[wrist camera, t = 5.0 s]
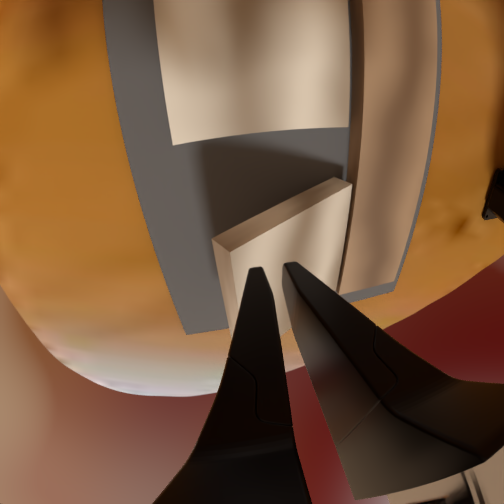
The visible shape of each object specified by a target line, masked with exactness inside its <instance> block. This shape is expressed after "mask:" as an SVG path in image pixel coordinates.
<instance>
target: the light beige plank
mask: <svg viewBox="0 0 504 504" xmlns="http://www.w3.org/2000/svg"><path fill="white" fill-rule="evenodd" d="M153 1H154V12H155V23H156V32H157V41H158V50H159V58H160V66H161V73H162V80H163V87H164V94H165V101H166V107H167V113H168V120H169V126H170V131H171V137H172V143H173V145H178V144H183V143H189V142H194V141H200V140H206V139H213V138H219V137H226V136H233V135H241V134H250V133H259V132H269V131H280V130H292V129H308V128H331V127H348V125H349V99H350V40H349V16H348V0H153Z"/></svg>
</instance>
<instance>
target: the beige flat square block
mask: <svg viewBox="0 0 504 504" xmlns="http://www.w3.org/2000/svg"><path fill="white" fill-rule="evenodd" d="M351 190H352V184H351V183H348V182H346V181H343V180H341V179H338V178H336V177H333V178H331V179H329V180H327V181H325V182H323V183H320V184H318V185H316V186H314V187H312V188H310V189H308V190H306V191H304V192H302V193H300V194H298V195H296V196H294V197H292V198H290V199H288V200H286V201H284V202H282V203H280V204H278V205H276V206H274V207H272V208H270V209H268V210H266V211H264V212H262V213H260V214H258V215H256V216H254V217H252V218H250V219H248V220H246V221H244V222H242V223H241V224H239V225H237V226H235V227H233V228H231V229H229V230H227V231H225V232H223V233H221V234H219V235H217V236H216V237H214V238H212V244H213V249H214V255H215V260H216V265H217V270H218V275H219V280H220V285H221V290H222V295H223V300H224V305H225V310H226V315H227V319H228V324H229V329H230V333H231V338H232V337H233V332H234V328H235V324H236V320H237V316H238V312H239V308H240V303H241V299H242V295H243V291H244V287H245V283H246V278H247V274H248V270H249V268H252V267H259V266H261V267H263V269H264V271H265V274H266V276H267V279H268V282H269V284H270V287H271V289H272V292H273V295H274V300H275V306H276V313H277V320H278V326H279V333H280V336H282V335H283V334H284V333H285V332H287V331H288V330H289V329H290V328H292V326H291V322H290V318H289V314H288V310H287V306H286V302H285V298H284V293H283V289H282V266H283V264H284V263H286V262H293V261H296V262H298V263H299V264H301V265H302V266H303V267H304V268H306V269H307V270H308V271H310V272H311V273H312V274H313V275H315V276H316V277H317V278H318V279H320V280H321V281H322V282H324V283H325V284H326V285H327V286H329V287H330V288H331V289H332V290H334V291H336V287H337V282H338V277H339V271H340V266H341V260H342V254H343V248H344V242H345V235H346V229H347V222H348V214H349V207H350V199H351Z"/></svg>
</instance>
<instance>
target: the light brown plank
mask: <svg viewBox="0 0 504 504" xmlns="http://www.w3.org/2000/svg"><path fill="white" fill-rule="evenodd" d="M350 13H351V35H352V101H351V125H350V142H349V156H348V168H347V179H346V182H348V183H351V184H352V190H351V199H350V207H349V214H348V222H347V229H346V235H345V242H344V248H343V254H342V260H341V266H340V271H339V277H338V282H337V287H336V291H337V293H338V294H339V295H341V294H345V293H350V292H354V291H358V290H362V289H366V288H370V287H374V286H378V285H382V284H385V283H389V282H393V281H394V280H395V277H396V274H397V271H398V268H399V265H400V262H401V259H402V256H403V253H404V249H405V246H406V243H407V240H408V236H409V233H410V229H411V225H412V222H413V218H414V214H415V210H416V206H417V202H418V198H419V194H420V189H421V185H422V180H423V175H424V170H425V165H426V160H427V154H428V148H429V142H430V135H431V128H432V121H433V112H434V102H435V91H436V76H437V14H436V0H350Z"/></svg>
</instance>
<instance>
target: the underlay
mask: <svg viewBox="0 0 504 504" xmlns="http://www.w3.org/2000/svg"><path fill="white" fill-rule="evenodd" d="M102 2H103V15H104V25H105V35H106V43H107V51H108V58H109V65H110V72H111V78H112V84H113V90H114V95H115V101H116V106H117V111H118V116H119V121H120V125H121V130H122V134H123V139H124V143H125V148H126V152H127V156H128V160H129V164H130V168H131V172H132V176H133V179H134V183H135V187H136V190H137V194H138V197H139V201H140V204H141V208H142V211H143V215H144V218H145V221H146V224H147V228H148V231H149V234H150V237H151V240H152V243H153V246H154V249H155V252H156V255H157V258H158V261H159V264H160V267H161V270H162V273H163V275H164V278H165V281H166V284H167V286H168V289H169V292H170V295H171V297H172V300H173V302H174V305H175V308H176V310H177V313H178V315H179V318H180V320H181V323H182V325H183V328H184V330H185V333H186V335H189V334H195V333H202V332H209V331H215V330H221V329H227V328H229V324H228V319H227V315H226V310H225V305H224V300H223V295H222V290H221V285H220V280H219V275H218V270H217V265H216V260H215V255H214V249H213V244H212V238H214V237H216V236H217V235H219V234H221V233H223V232H225V231H227V230H229V229H231V228H233V227H235V226H237V225H239V224H241V223H242V222H244V221H246V220H248V219H250V218H252V217H254V216H256V215H258V214H260V213H262V212H264V211H266V210H268V209H270V208H272V207H274V206H276V205H278V204H280V203H282V202H284V201H286V200H288V199H290V198H292V197H294V196H296V195H298V194H300V193H302V192H304V191H306V190H308V189H310V188H312V187H314V186H316V185H318V184H320V183H323V182H325V181H327V180H329V179H331V178H333V177H336V178H338V179H341V180H343V181H346V179H347V168H348V156H349V142H350V125H351V101H352V35H351V13H350V0H348V16H349V40H350V99H349V125H348V127H331V128H308V129H292V130H280V131H269V132H259V133H250V134H241V135H233V136H226V137H219V138H213V139H206V140H200V141H194V142H189V143H183V144H178V145H173V143H172V137H171V131H170V126H169V120H168V113H167V107H166V101H165V94H164V87H163V80H162V73H161V66H160V58H159V50H158V41H157V32H156V23H155V12H154V1H153V0H102ZM436 14H437V76H436V91H435V102H434V112H433V121H432V128H431V135H430V142H429V148H428V154H427V160H426V165H425V170H424V175H423V180H422V185H421V189H420V194H419V198H418V202H417V206H416V210H415V214H414V218H413V222H412V225H411V229H410V233H409V236H408V240H407V243H406V246H405V249H404V253H403V256H402V259H401V262H400V265H399V268H398V271H397V274H396V277H395V280H394V281H393V282H389V283H385V284H382V285H378V286H374V287H370V288H366V289H362V290H358V291H354V292H350V293H345V294H341V295H340V296H341V297H342V298H344V299H345V300H346V301H347V302H349V303H351V302H355V301H359V300H363V299H366V298H370V297H374V296H378V295H381V294H385V293H388V292H392V291H394V289H395V286H396V283H397V281H398V278H399V275H400V272H401V269H402V266H403V263H404V260H405V257H406V254H407V251H408V248H409V245H410V241H411V238H412V235H413V231H414V228H415V224H416V221H417V217H418V213H419V209H420V205H421V201H422V197H423V193H424V189H425V184H426V180H427V175H428V170H429V165H430V160H431V154H432V149H433V143H434V136H435V129H436V122H437V114H438V105H439V94H440V80H441V57H442V32H441V10H440V0H436ZM335 292H336V293H337V291H335ZM337 294H338V293H337Z"/></svg>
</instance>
